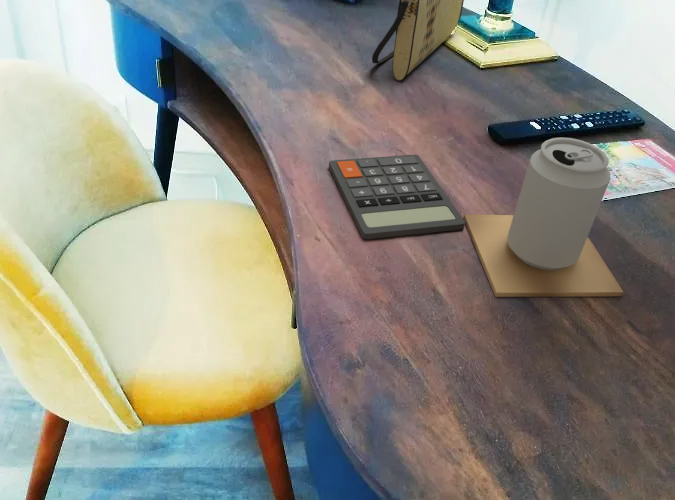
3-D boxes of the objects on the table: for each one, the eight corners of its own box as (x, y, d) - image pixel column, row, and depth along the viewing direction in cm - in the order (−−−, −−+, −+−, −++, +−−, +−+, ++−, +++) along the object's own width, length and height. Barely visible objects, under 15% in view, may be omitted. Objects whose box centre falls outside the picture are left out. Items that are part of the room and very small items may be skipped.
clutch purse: (425, 25, 122) (438, -60, 113) (460, 33, 120) (477, -53, 111) (359, 78, 101) (370, -23, 92) (401, 89, 99) (415, -12, 90)
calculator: (418, 152, 81) (466, 222, 70) (416, 159, 82) (465, 228, 71) (328, 159, 78) (364, 232, 67) (328, 165, 79) (363, 239, 68)
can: (495, 231, 70) (523, 132, 63) (559, 229, 71) (594, 132, 64) (520, 276, 64) (554, 173, 57) (589, 273, 65) (632, 172, 58)
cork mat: (573, 219, 74) (574, 215, 74) (621, 296, 64) (624, 292, 64) (462, 218, 73) (464, 214, 72) (495, 297, 62) (496, 292, 62)
